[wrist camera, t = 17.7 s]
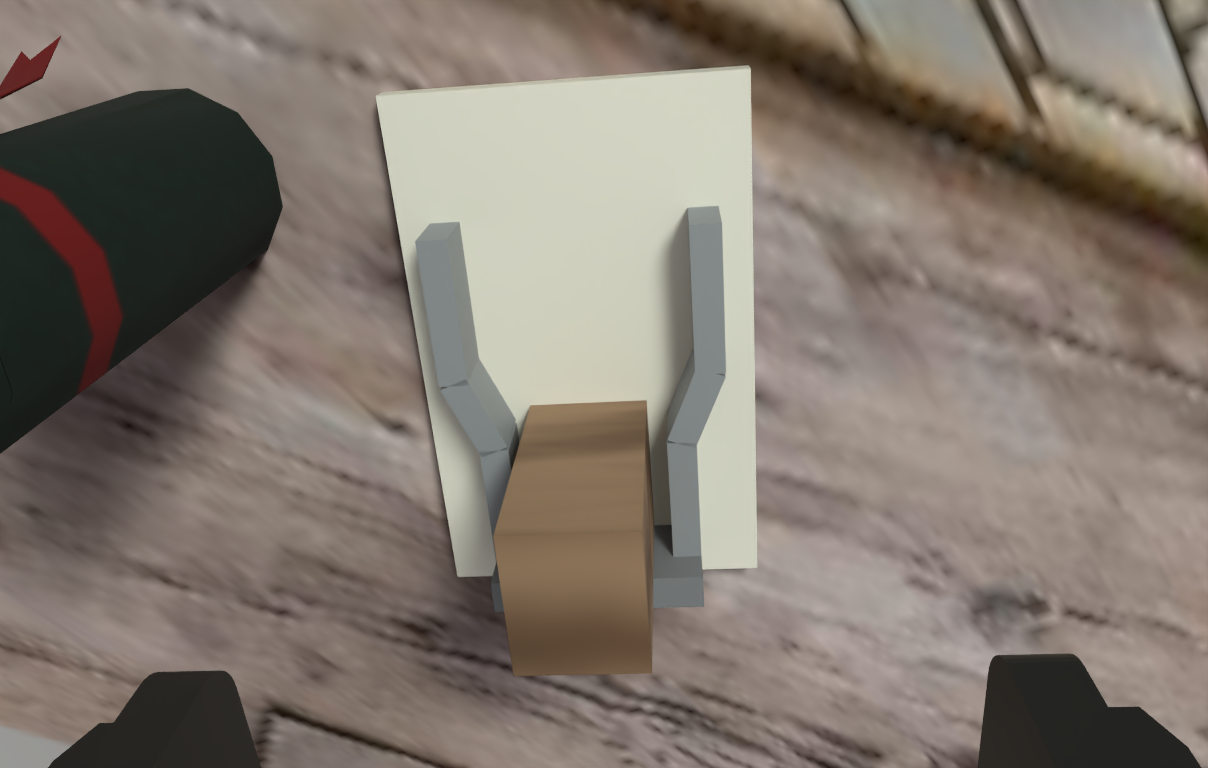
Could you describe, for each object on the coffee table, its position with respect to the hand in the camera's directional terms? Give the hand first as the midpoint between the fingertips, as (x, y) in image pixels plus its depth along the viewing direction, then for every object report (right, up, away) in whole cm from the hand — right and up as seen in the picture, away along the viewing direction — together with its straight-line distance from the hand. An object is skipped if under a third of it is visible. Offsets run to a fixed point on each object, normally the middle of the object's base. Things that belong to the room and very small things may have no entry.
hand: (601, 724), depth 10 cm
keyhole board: (-1, +5, +31) cm, 31 cm away
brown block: (0, 0, +32) cm, 32 cm away
